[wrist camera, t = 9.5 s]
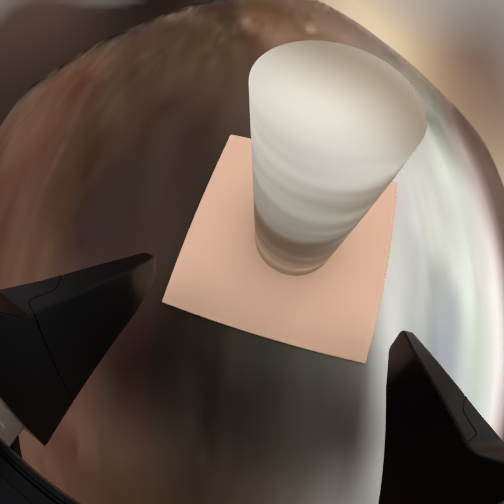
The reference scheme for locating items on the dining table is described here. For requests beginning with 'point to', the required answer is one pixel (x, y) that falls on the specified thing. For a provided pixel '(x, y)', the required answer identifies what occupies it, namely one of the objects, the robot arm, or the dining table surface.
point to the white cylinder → (324, 146)
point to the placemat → (273, 282)
